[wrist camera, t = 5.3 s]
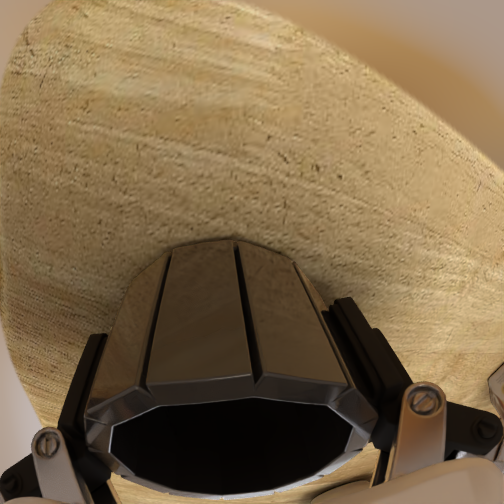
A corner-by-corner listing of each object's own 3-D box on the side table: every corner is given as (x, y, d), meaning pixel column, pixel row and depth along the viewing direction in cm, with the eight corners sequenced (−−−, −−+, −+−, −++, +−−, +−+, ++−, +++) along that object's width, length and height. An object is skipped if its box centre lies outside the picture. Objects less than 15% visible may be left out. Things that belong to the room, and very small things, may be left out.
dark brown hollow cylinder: (96, 255, 9) (23, 381, 4) (318, 222, 9) (409, 336, 5) (166, 409, 13) (161, 508, 8) (314, 389, 13) (346, 485, 9)
